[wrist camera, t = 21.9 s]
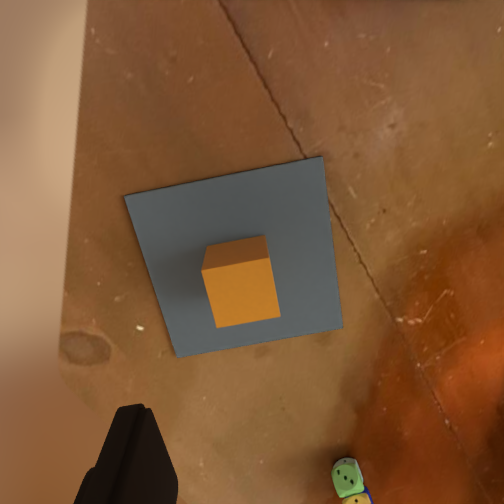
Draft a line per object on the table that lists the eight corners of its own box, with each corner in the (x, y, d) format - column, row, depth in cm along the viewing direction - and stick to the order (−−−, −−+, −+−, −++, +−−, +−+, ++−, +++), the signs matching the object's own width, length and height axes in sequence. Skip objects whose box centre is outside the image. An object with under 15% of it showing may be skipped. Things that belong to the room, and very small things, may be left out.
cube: (220, 297, 33) (216, 328, 28) (206, 245, 31) (200, 270, 26) (275, 286, 33) (280, 317, 28) (265, 234, 31) (269, 257, 26)
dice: (367, 485, 43) (387, 546, 37) (346, 492, 43) (362, 553, 37) (346, 439, 40) (364, 497, 34) (323, 447, 40) (338, 505, 35)
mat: (177, 355, 35) (176, 358, 35) (124, 195, 30) (123, 196, 29) (342, 326, 35) (343, 328, 34) (321, 155, 29) (322, 156, 28)
